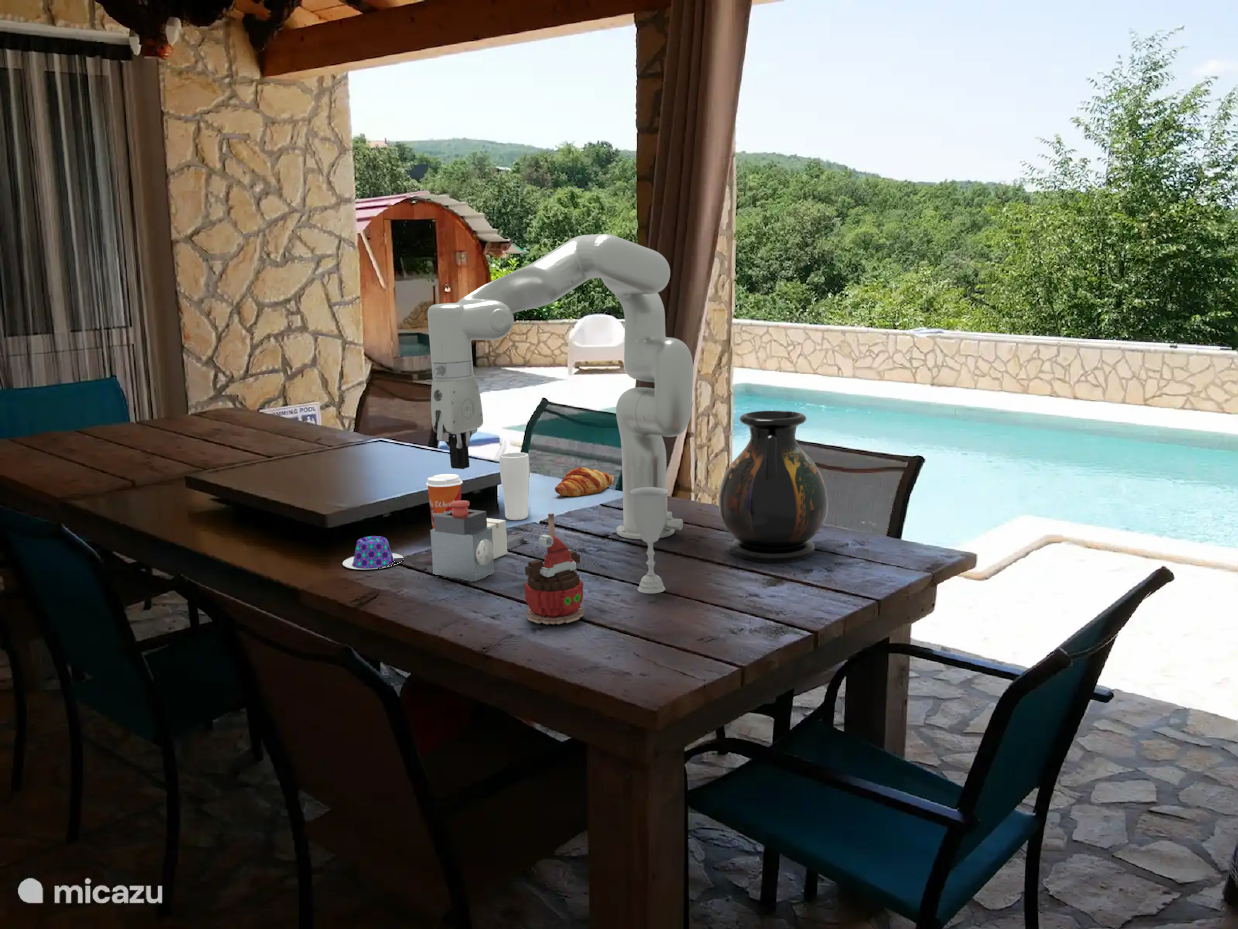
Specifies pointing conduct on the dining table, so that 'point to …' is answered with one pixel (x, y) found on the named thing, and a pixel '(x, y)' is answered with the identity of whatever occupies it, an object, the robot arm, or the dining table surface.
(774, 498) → the black painted vase
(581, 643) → the dining table surface
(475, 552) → the cabinet
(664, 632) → the dining table surface
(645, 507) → the chalice
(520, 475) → the drinking glass
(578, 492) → the croissant
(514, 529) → the dining table surface
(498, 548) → the white taped box
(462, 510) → the button
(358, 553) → the purple patterned hat
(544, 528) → the dining table surface
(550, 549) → the christmas candy apple
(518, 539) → the rail
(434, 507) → the paper cup
